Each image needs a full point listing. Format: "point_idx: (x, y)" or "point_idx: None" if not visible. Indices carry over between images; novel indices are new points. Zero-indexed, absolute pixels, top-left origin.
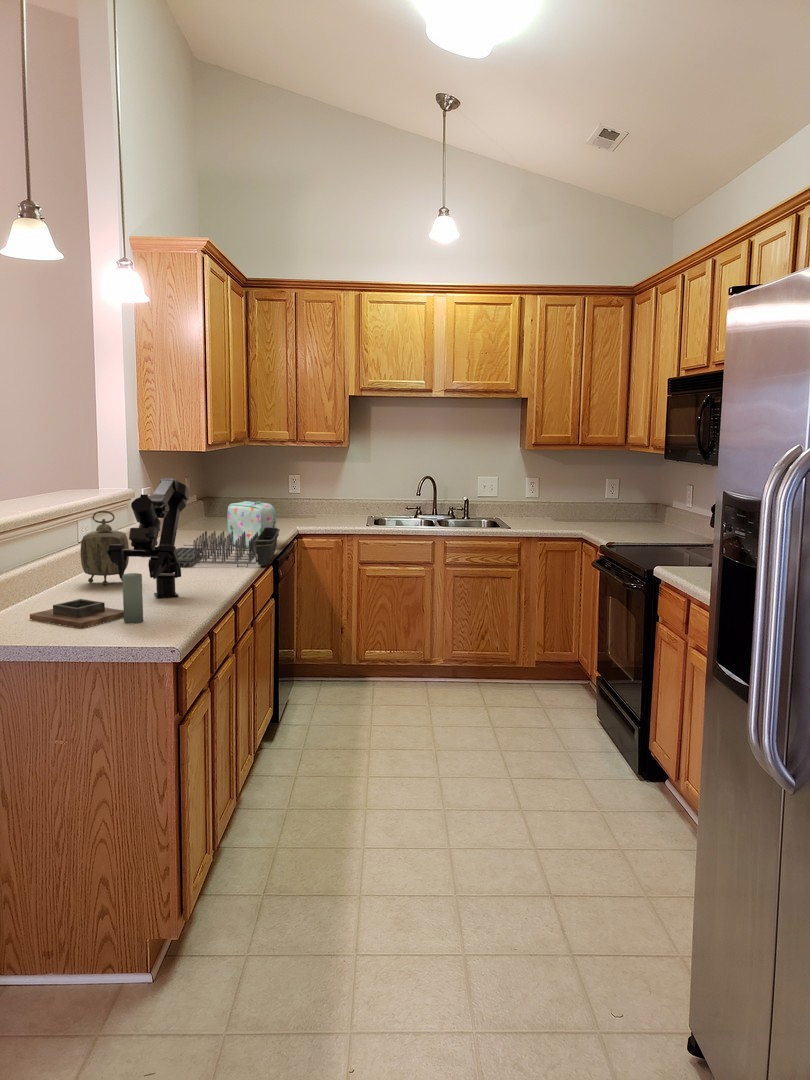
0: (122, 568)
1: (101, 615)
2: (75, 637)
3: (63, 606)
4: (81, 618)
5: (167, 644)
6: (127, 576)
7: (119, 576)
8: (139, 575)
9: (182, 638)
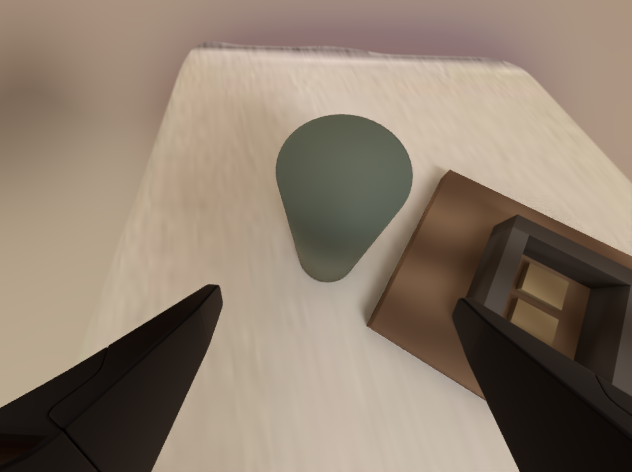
0: (523, 377)
1: (435, 258)
2: (417, 110)
3: (594, 255)
4: (478, 221)
5: (206, 61)
6: (357, 118)
7: (473, 299)
8: (285, 146)
9: (176, 96)
